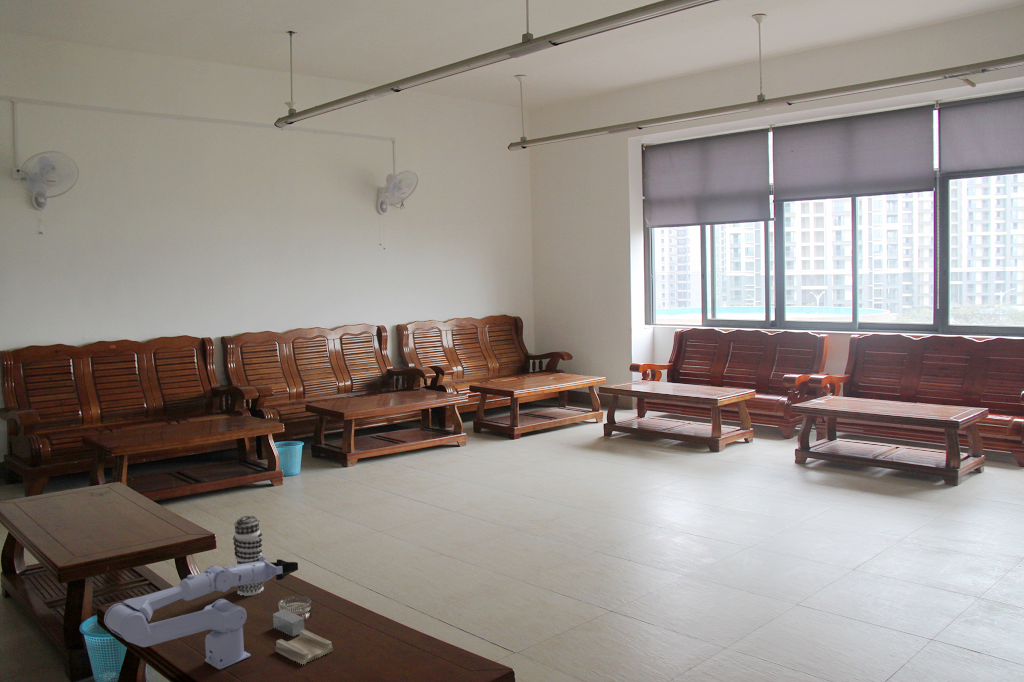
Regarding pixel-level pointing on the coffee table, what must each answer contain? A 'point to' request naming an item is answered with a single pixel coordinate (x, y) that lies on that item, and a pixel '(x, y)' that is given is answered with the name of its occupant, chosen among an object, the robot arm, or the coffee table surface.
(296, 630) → the grey rectangular block
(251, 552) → the decorative candle
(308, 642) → the cradle
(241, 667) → the coffee table surface
